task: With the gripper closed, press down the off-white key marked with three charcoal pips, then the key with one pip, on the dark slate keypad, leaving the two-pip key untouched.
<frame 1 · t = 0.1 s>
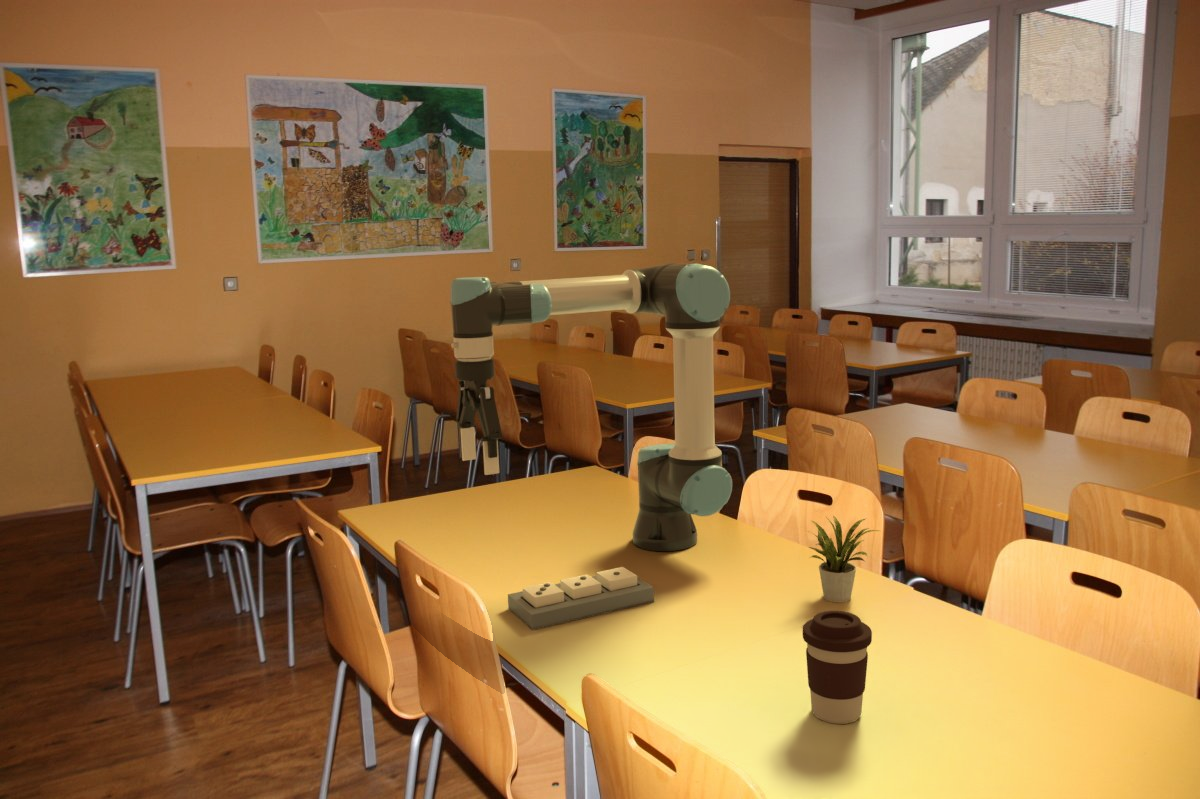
hand: (480, 466, 190), 28 cm above the table, fingers open, 13 cm apart
key one: (616, 578, 194), point 4 cm above the table, slide at 0.0 cm
key two: (580, 585, 191), point 4 cm above the table, slide at 0.0 cm
key three: (543, 594, 187), point 4 cm above the table, slide at 0.0 cm
house plant: (844, 598, 191), on the table
keypad: (581, 605, 191), on the table
coffee cup: (836, 714, 146), on the table
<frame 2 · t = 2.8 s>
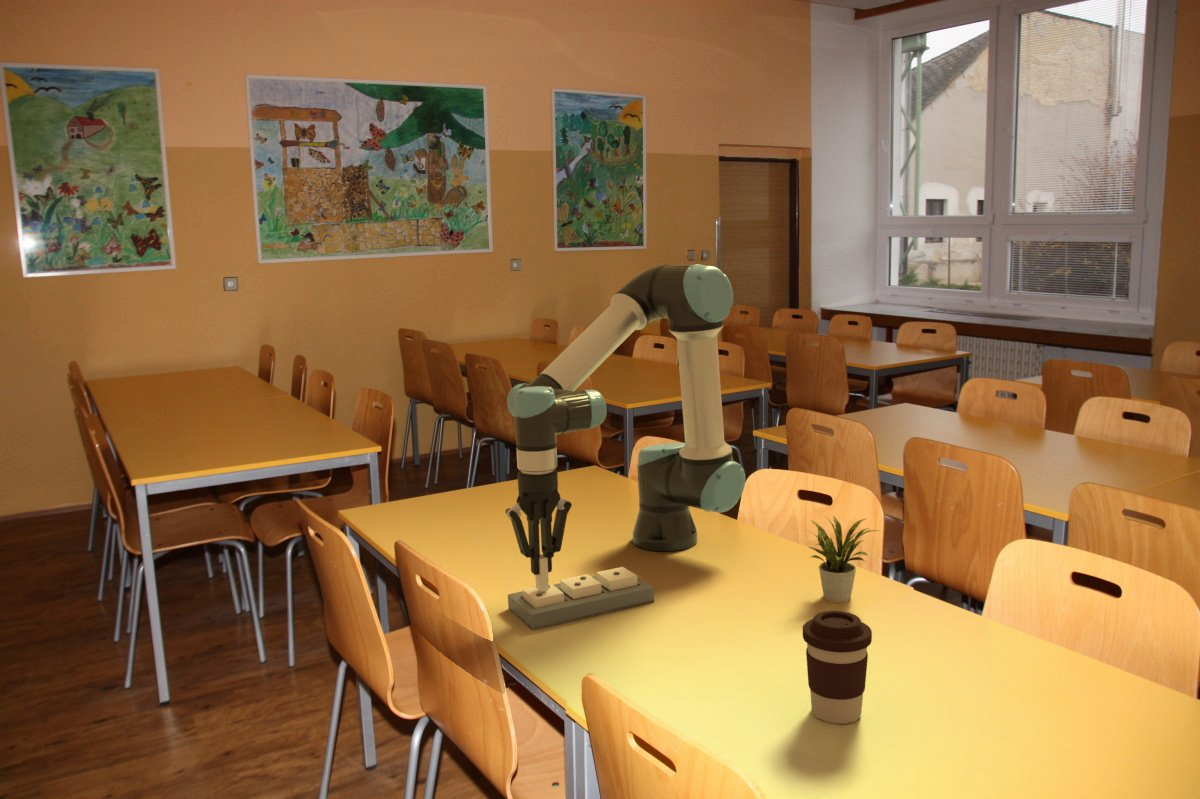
hand: (542, 589, 187), 5 cm above the table, fingers closed
key three: (543, 595, 187), point 4 cm above the table, slide at 0.3 cm, touching gripper
everything else where it was.
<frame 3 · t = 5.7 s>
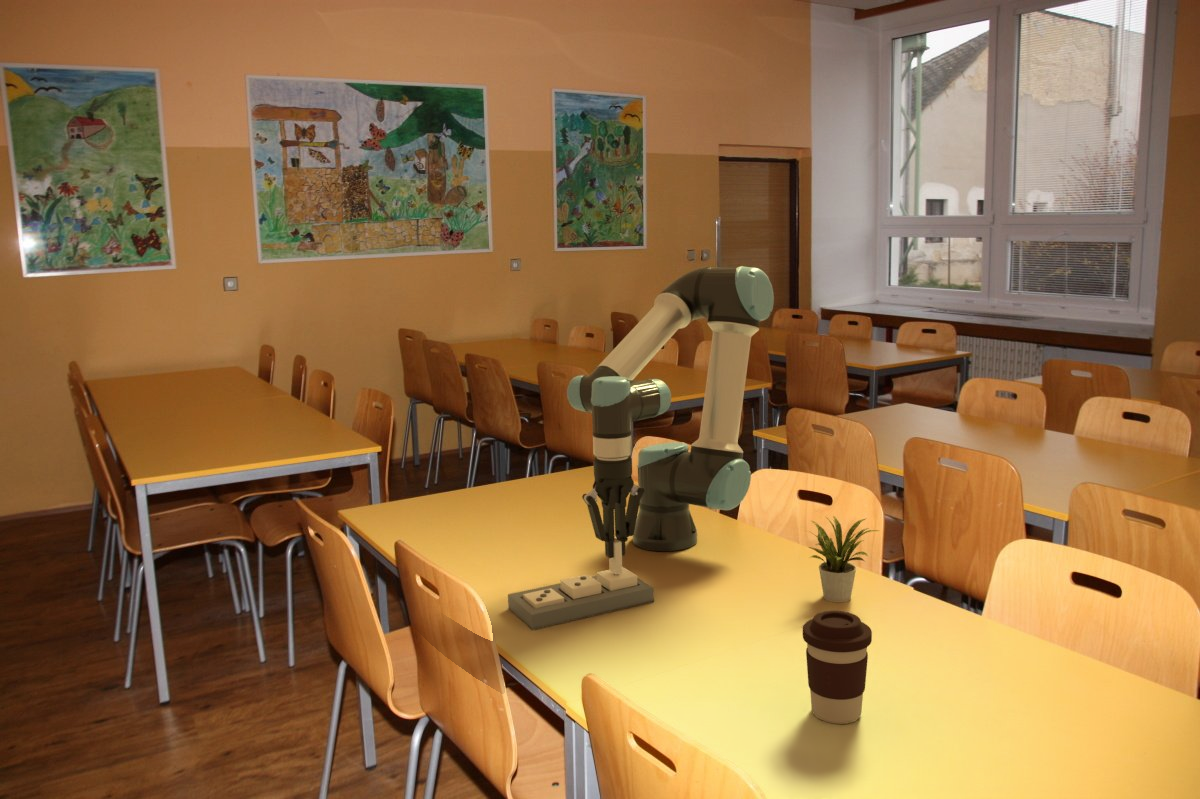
hand: (615, 571, 194), 5 cm above the table, fingers closed
key one: (616, 578, 194), point 4 cm above the table, slide at 0.0 cm, touching gripper
key three: (543, 600, 187), point 3 cm above the table, slide at 1.3 cm
everything else where it was.
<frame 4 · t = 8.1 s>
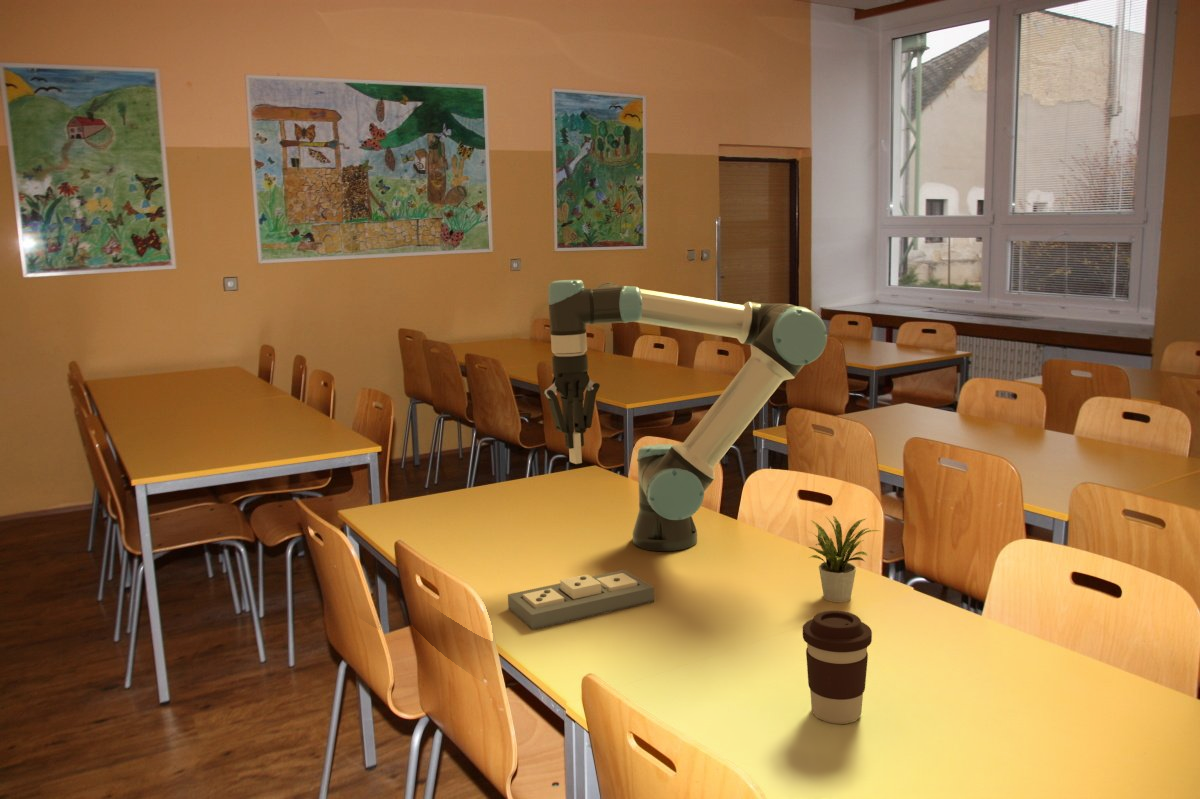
hand: (575, 462, 210), 23 cm above the table, fingers closed
key one: (616, 584, 194), point 3 cm above the table, slide at 1.3 cm
everything else where it was.
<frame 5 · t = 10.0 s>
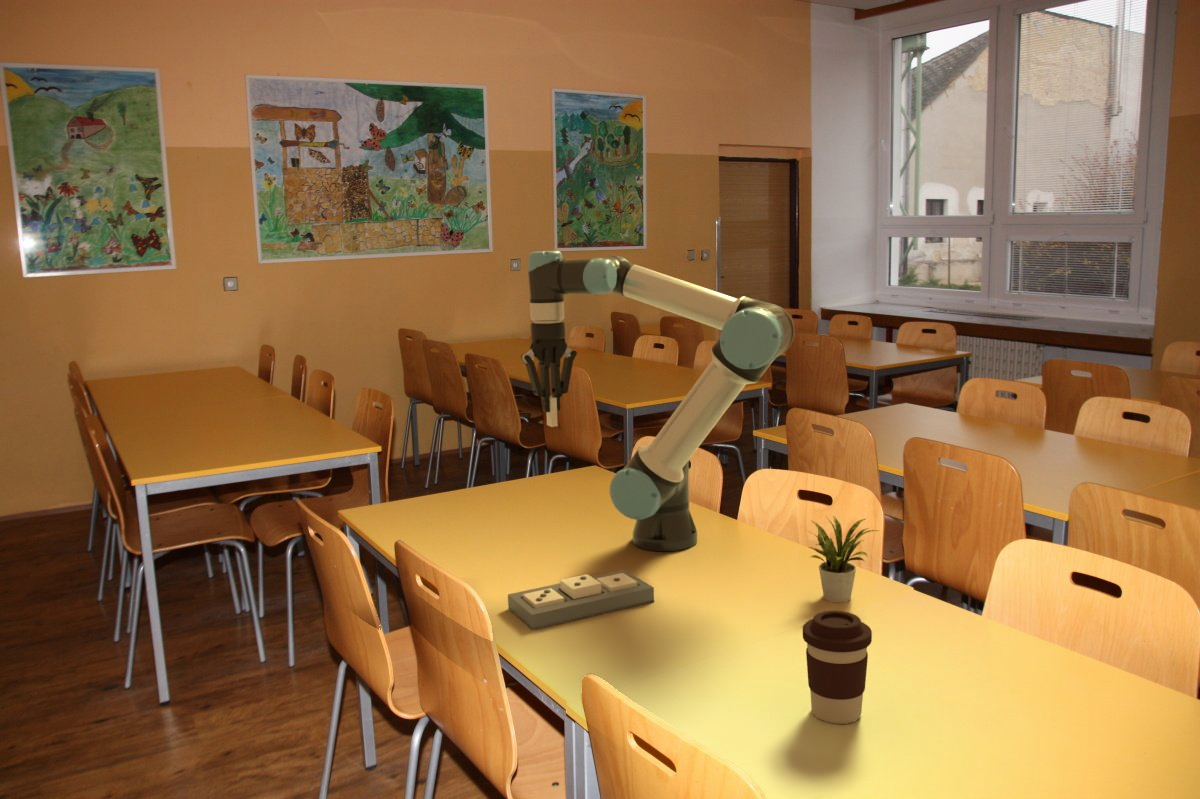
hand: (552, 425, 220), 29 cm above the table, fingers closed
nothing on the table moved.
at the end: key three slide at 1.3 cm; key one slide at 1.3 cm; key two slide at 0.0 cm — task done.
